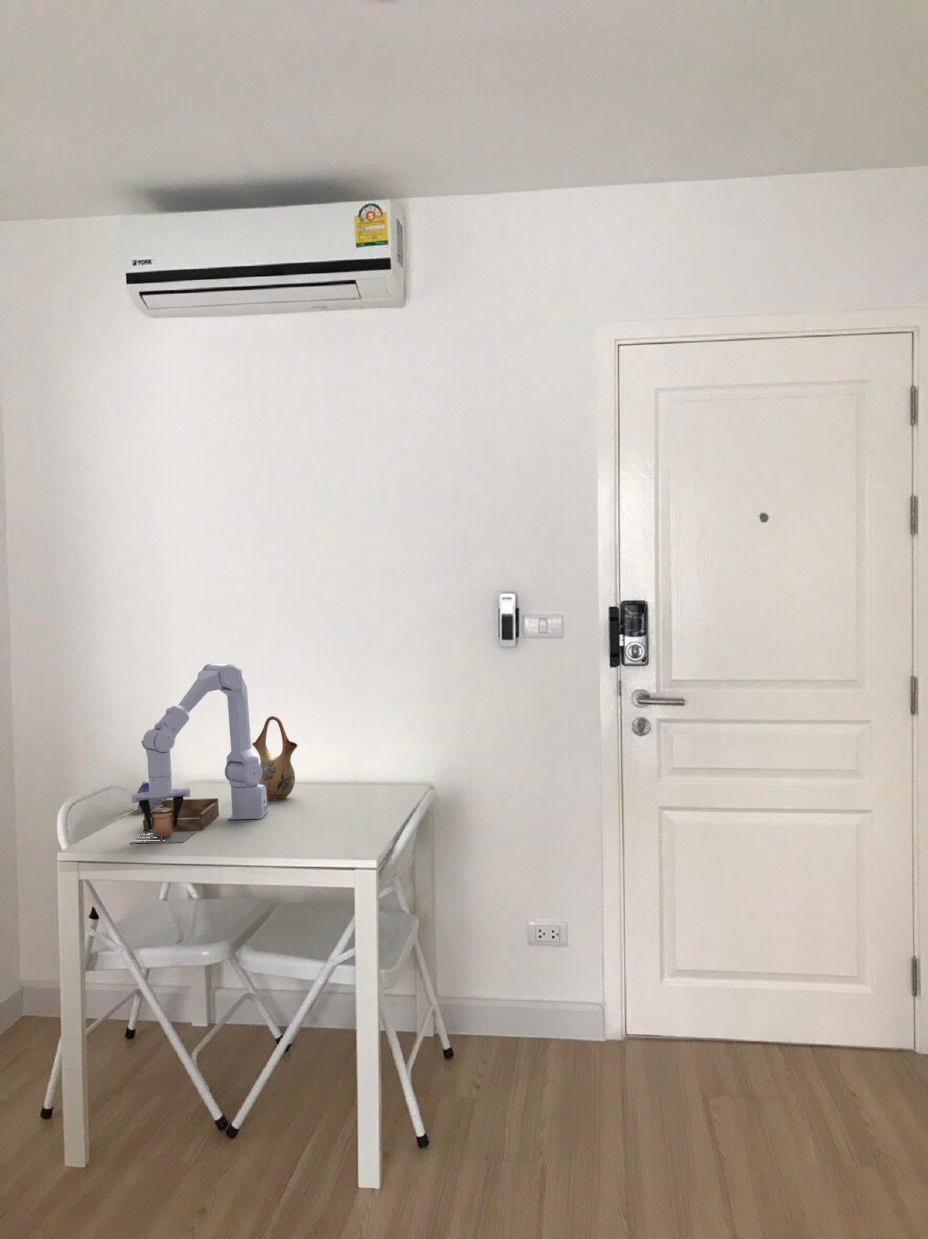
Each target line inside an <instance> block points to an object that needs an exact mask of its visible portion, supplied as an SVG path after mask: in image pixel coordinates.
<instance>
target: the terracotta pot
mask: <svg viewBox="0 0 928 1239" xmlns="http://www.w3.org/2000/svg"><path fill="white" fill-rule="evenodd" d="M150 811H151V812H150V817H152V831H151V832H152V833H153V836H156V837H165V836H169V835H171V834H172V833H173V832H174V830H173V828H172V816H173V815H174V810H173V809H171V808H158V809H154V810H150Z"/></svg>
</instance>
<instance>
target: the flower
mask: <svg viewBox="0 0 928 1239" xmlns="http://www.w3.org/2000/svg"><path fill="white" fill-rule="evenodd" d="M137 790H138V791H137V792H136V794H138V793H144V792H149V781H145V780H144V781H142V783H141V785H140V786H139V788H138V789H137ZM161 800H167V799H161ZM161 800H152V801H149V804H150V811H152V810H153V809H154V808H156V807H157V806H159V805H160V804H161ZM137 812H138V815H139V814H141V815H142V809H141V807H140V805H139V803H138V804H137Z"/></svg>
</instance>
